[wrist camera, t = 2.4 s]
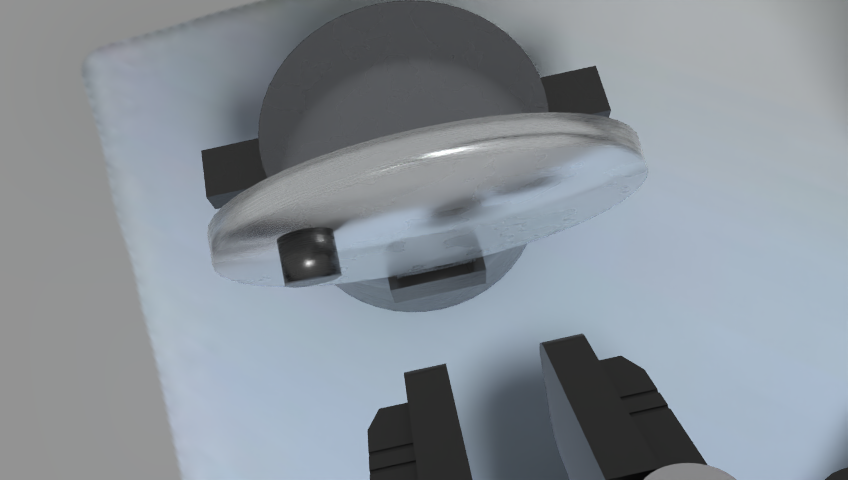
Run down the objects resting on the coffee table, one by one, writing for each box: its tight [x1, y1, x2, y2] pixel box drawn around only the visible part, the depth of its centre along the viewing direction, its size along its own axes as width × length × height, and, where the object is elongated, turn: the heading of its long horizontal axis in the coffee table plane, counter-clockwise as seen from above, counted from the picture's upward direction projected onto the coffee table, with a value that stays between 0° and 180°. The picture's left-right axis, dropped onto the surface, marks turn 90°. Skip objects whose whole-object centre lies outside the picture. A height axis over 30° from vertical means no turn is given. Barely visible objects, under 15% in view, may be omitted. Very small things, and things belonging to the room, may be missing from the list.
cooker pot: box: [201, 0, 611, 312], centre depth 48 cm, size 17×23×10 cm
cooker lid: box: [207, 112, 648, 287], centre depth 32 cm, size 18×17×3 cm
